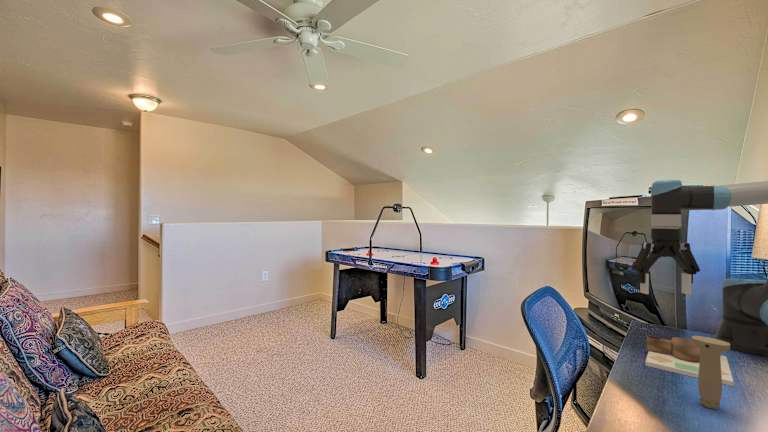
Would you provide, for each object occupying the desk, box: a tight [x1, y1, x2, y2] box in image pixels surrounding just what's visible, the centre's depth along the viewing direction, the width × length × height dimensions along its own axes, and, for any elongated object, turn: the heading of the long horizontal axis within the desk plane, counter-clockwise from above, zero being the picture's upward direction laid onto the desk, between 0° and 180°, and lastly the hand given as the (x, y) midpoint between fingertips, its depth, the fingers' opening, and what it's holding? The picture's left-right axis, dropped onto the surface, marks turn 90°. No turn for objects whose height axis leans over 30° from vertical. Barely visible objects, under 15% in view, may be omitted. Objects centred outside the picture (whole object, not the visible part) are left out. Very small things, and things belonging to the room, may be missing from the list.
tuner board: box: [644, 350, 734, 387], centre depth 102 cm, size 18×22×1 cm
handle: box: [691, 335, 731, 410], centre depth 79 cm, size 5×6×15 cm
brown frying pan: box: [646, 334, 700, 362], centre depth 105 cm, size 13×7×5 cm, turn 48°
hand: (665, 293), depth 111 cm, fingers open, 13 cm apart
